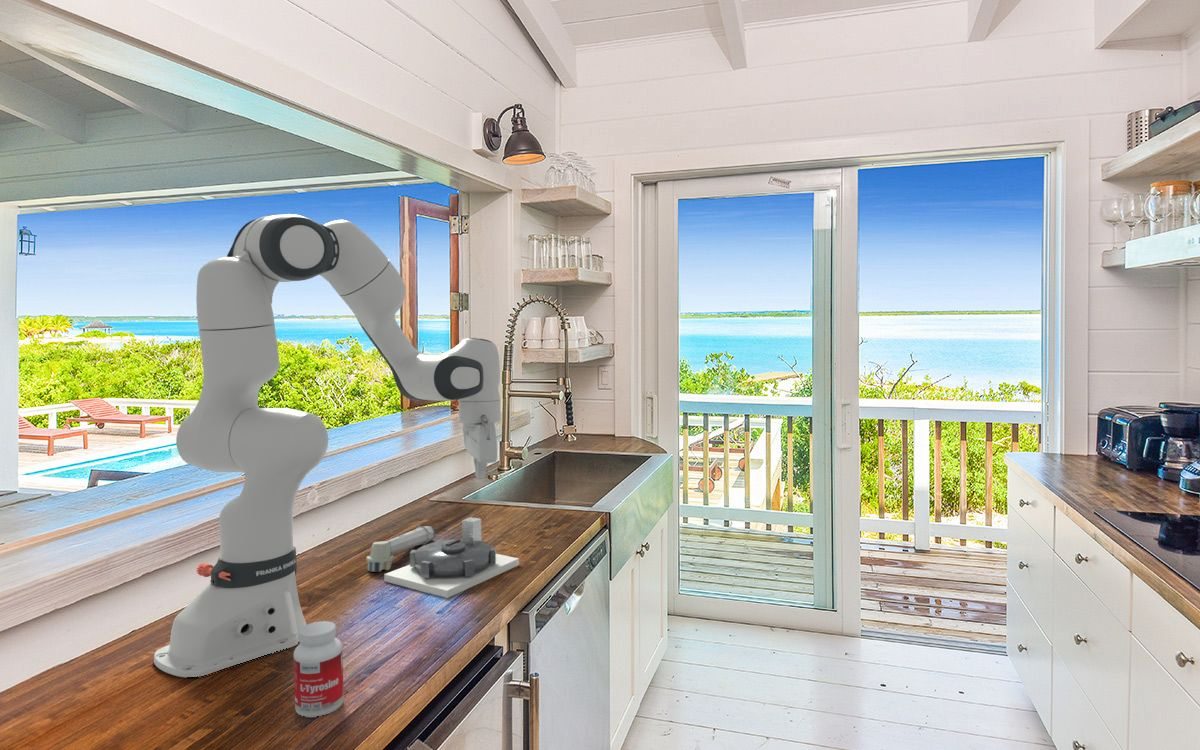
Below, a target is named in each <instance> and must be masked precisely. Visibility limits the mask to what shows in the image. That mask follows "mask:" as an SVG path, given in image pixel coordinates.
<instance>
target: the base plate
mask: <svg viewBox="0 0 1200 750" xmlns="http://www.w3.org/2000/svg"><path fill="white" fill-rule="evenodd" d="M518 566H520V558H518V557H514V556H509V555H504V554H499V553H496V564H490V565H489V566H488V567H487V568H485V569H483V570H481V571H478V572H475V575H472V576H467V577H465V576H464V575H462V576H454V577H434V576H432V577H430V578H426V577H421V573H419V572H417V571H416V569H415V567H410V564H407V565H406V566H402V567H400V568H397V569H394V570H392V571H390V572H387V573H384V578H383V579H384V582H385V583H390V584H394V585H396V586H397V585H398V586H401V587H404V588H408V589H411V590H412V589H413V590H414V591H415V590H416V591H419V592H422V593H423V592H424V593H426V594H430V595H433V596H434V595H435V596H436V597H437V596H438V597H440V598H441V597H442V598H446V599H449V598H450V597H452V596H455V595H457V594H459V593H461V592H463V591H466V590H468V589H470V588H473V587H475V586H476V585H478V584H480V583H481V584H482V583H484V582H486V581H487V580H488V581H489V580H490V579H492V578H494V577H496V576H498V575H500V574H502V573H505V572H507V571H510V570H512V569H513V568H516V567H518Z"/></svg>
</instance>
